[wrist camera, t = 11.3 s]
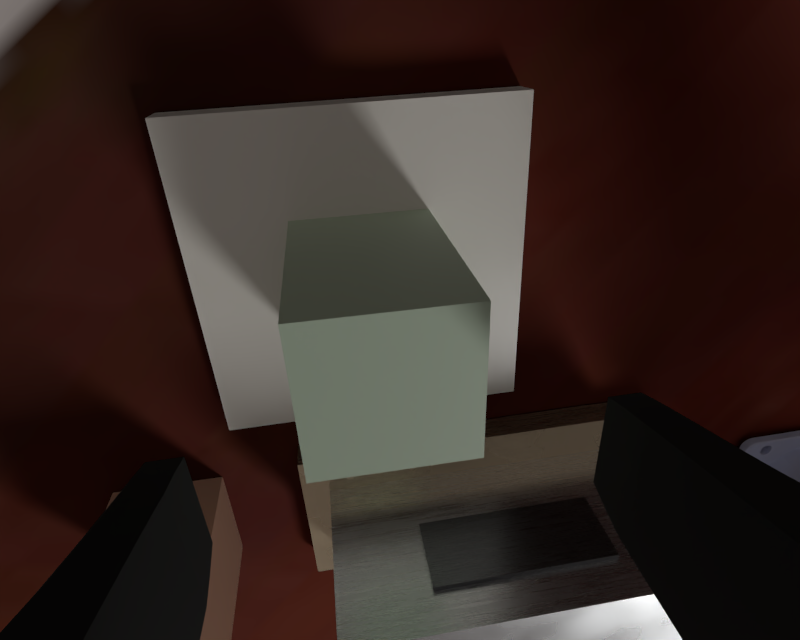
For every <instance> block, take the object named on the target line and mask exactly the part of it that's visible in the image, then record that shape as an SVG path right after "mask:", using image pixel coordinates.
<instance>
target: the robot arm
mask: <svg viewBox="0 0 800 640" xmlns="http://www.w3.org/2000/svg"><path fill="white" fill-rule="evenodd" d="M593 483H594V485H595V487H596V489H597V492H598V494H599V496H600V498H601V501H602V503H603V505H604V507H605V510H606V512H607V514H608V516H609V518H610V520H611V522H612V524H613V526H614V528H615V530H616V532H617V534H618V536H619V538H620V540H621V541H622V543H623V545H624V546H625V548H626V550H627V551H628V553H629V555H630V556H631V558H632V560H633V561H634V563H635V564H636V566H637V568H638V569H639V571H640V573H641V574H642V576H643V577H644V579H645V581H646V582H647V584H648V585H649V587H650V589H651V590H652V592H653V593H654V595H655V597H656V598H657V600H658V601H659V603H660V605H661V606H662V608H663V609H664V611H665V613H666V614H667V616H668V617H669V619H670V621H671V622H672V624H673V625H674V627H675V628H676V630H677V632H678V633H679V635H680V636H681V638H682V640H800V431H793V432H787V433H780V434H774V435H768V436H761V437H755V438H750V439H747V440H746V441H744V442H743V443H742V444H741V446H740V448H738V447H736V446H734V445H732V444H731V443H729V442H727V441H726V440H724V439H722V438H720V437H719V436H717V435H715V434H714V433H712V432H710V431H708V430H707V429H705V428H703V427H702V426H700V425H698V424H696V423H695V422H693V421H691V420H690V419H688V418H686V417H684V416H683V415H681V414H679V413H678V412H676V411H674V410H672V409H671V408H669V407H667V406H665V405H664V404H662V403H660V402H658V401H656V400H654V399H653V398H651V397H649V396H647V395H645V394H643V393H634V394H627V395H620V396H613V397H608V401H607V407H606V412H605V418H604V424H603V429H602V435H601V441H600V447H599V452H598V458H597V464H596V469H595V475H594V481H593ZM212 546H213V542H212V539H211V536H210V533H209V530H208V527H207V524H206V521H205V518H204V515H203V512H202V509H201V506H200V503H199V500H198V497H197V494H196V491H195V488H194V485H193V482H192V479H191V476H190V473H189V470H188V467H187V464H186V461H185V458H184V457H180V458H173V459H166V460H159V461H152V462H145V463H144V464H143V465H142V467H141V468H140V469H139V470H138V471H137V473H136V474H135V475H134V476H133V477H132V478H131V480H130V481H129V482H128V483H127V484H126V486H125V487H124V488H123V489H122V490H121V492H120V493H119V494H118V495H117V497H116V498H115V499H114V500H113V502H112V503H111V504H110V505H109V506H108V508H107V509H106V510H105V511H104V513H103V514H102V515H101V516H100V518H99V519H98V520H97V521H96V522H95V524H94V525H93V526H92V527H91V528H90V530H89V531H88V532H87V533H86V535H85V536H84V537H83V538H82V539H81V541H80V542H79V543H78V544H77V545H76V547H75V548H74V549H73V550H72V551H71V553H70V554H69V555H68V556H67V557H66V558H65V560H64V561H63V562H62V563H61V564H60V565H59V567H58V568H57V569H56V570H55V571H54V573H53V574H52V575H51V576H50V577H49V578H48V580H47V581H46V582H45V583H44V584H43V586H42V587H41V588H40V589H39V590H38V591H37V593H36V594H35V595H34V596H33V597H32V598H31V599H30V601H29V602H28V603H27V604H26V605H25V606H24V607H23V608H22V609H21V610H20V612H19V613H18V614H17V615H16V616H15V617H14V618H13V619H12V620H11V621H10V623H9V624H8V625H7V626H6V627H5V628H4V629H3V630H2V631H1V632H0V640H200V637H201V632H202V628H203V623H204V618H205V613H206V608H207V600H208V590H209V581H210V570H211V558H212Z"/></svg>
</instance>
